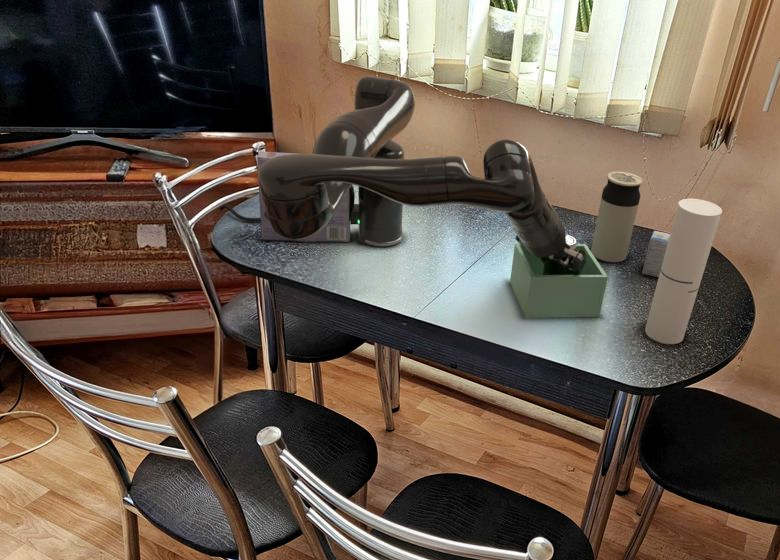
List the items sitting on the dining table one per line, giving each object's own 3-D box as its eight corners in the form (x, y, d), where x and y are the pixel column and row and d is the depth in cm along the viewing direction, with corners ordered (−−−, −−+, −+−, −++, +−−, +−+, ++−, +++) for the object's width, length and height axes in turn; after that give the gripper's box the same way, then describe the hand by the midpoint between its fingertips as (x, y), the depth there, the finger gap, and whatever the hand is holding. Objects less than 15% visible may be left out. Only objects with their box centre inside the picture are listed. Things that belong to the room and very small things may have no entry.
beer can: (572, 298, 133) (583, 242, 126) (552, 305, 130) (562, 248, 123) (553, 286, 136) (563, 231, 129) (533, 293, 133) (542, 236, 126)
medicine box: (680, 274, 148) (690, 237, 143) (678, 283, 144) (688, 246, 140) (644, 266, 150) (653, 229, 145) (641, 274, 146) (650, 237, 141)
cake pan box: (355, 233, 149) (354, 153, 140) (355, 243, 145) (354, 162, 136) (263, 231, 146) (256, 149, 136) (261, 241, 142) (253, 158, 132)
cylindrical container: (640, 322, 129) (673, 197, 115) (676, 323, 130) (713, 199, 116) (651, 343, 123) (686, 214, 109) (688, 344, 124) (728, 216, 110)
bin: (525, 318, 127) (531, 277, 122) (509, 282, 137) (514, 243, 133) (599, 316, 130) (608, 276, 125) (578, 282, 140) (585, 244, 136)
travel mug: (604, 265, 148) (621, 186, 138) (583, 249, 154) (598, 172, 144) (633, 260, 151) (651, 182, 141) (612, 245, 157) (628, 169, 147)
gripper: (493, 232, 119) (522, 271, 134) (564, 259, 113) (585, 297, 128) (514, 195, 120) (540, 238, 135) (585, 221, 113) (604, 263, 128)
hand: (562, 267), depth 131 cm, fingers closed on beer can, 5 cm apart
